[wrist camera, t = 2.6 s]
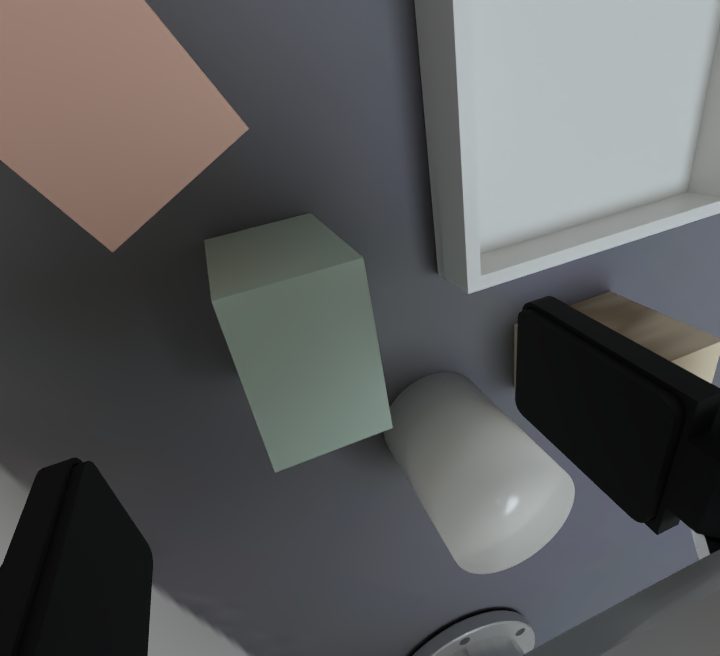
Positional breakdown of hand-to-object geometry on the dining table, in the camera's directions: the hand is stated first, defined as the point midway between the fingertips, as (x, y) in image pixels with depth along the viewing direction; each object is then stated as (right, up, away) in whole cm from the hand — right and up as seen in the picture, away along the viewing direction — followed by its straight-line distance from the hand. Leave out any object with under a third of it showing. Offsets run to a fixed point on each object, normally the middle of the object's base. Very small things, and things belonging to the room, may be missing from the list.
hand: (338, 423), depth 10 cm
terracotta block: (-7, +9, +3) cm, 12 cm away
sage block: (-3, +3, +8) cm, 9 cm away
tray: (+9, +13, +8) cm, 18 cm away
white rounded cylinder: (+4, -3, +14) cm, 15 cm away
